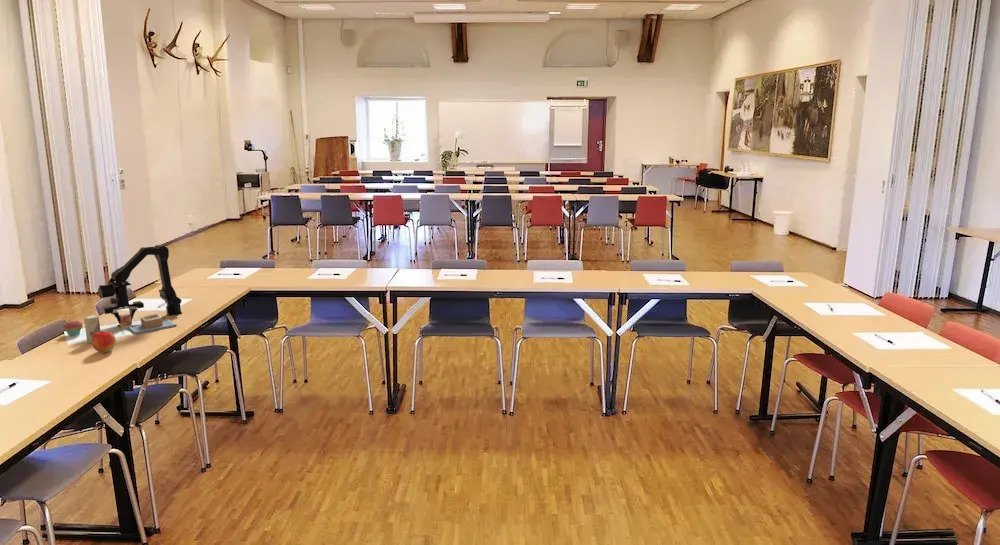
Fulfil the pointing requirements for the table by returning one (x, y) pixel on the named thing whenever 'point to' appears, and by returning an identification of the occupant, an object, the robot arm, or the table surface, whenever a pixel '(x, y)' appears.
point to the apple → (103, 341)
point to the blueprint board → (139, 328)
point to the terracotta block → (125, 320)
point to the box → (91, 327)
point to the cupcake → (72, 327)
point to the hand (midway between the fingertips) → (125, 322)
